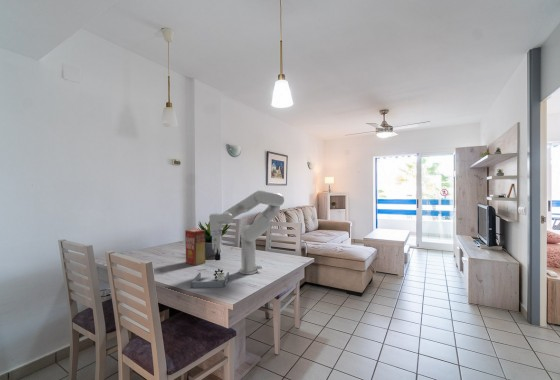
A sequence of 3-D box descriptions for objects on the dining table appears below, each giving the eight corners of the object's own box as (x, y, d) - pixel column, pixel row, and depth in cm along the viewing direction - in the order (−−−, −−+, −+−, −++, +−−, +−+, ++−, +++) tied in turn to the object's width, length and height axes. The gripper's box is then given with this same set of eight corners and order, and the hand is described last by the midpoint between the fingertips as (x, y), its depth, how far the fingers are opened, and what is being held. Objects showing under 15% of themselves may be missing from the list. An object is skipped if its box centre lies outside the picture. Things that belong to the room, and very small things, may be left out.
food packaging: (184, 262, 197) (184, 230, 197) (195, 260, 204) (195, 228, 204) (195, 266, 189) (195, 231, 189) (206, 263, 196) (205, 230, 196)
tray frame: (229, 276, 166) (229, 272, 166) (224, 287, 149) (224, 281, 149) (199, 277, 165) (199, 272, 165) (191, 287, 148) (191, 282, 148)
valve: (227, 285, 152) (224, 278, 163) (227, 274, 152) (224, 268, 163) (215, 286, 149) (213, 279, 161) (215, 275, 149) (213, 269, 161)
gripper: (219, 234, 163) (221, 263, 163) (223, 230, 178) (225, 256, 178) (207, 235, 162) (209, 263, 163) (212, 230, 177) (214, 257, 178)
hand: (217, 259), depth 171 cm, fingers closed
